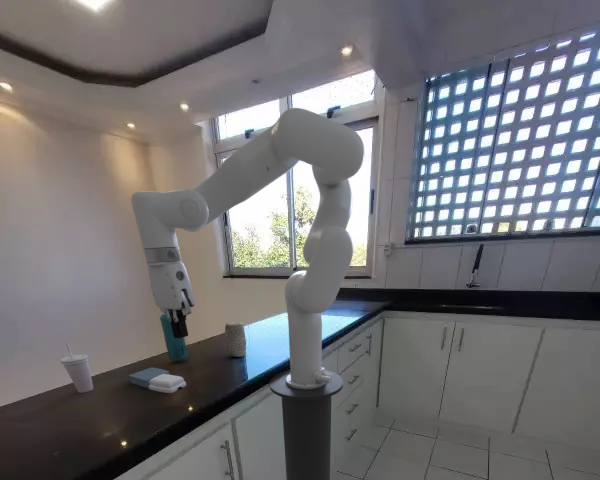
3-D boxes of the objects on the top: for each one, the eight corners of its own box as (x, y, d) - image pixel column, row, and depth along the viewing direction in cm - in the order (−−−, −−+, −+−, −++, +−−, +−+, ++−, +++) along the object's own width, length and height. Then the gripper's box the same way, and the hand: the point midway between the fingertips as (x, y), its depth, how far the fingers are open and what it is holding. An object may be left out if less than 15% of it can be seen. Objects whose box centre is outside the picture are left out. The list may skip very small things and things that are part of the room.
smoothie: (66, 394, 86) (47, 345, 80) (84, 385, 92) (67, 338, 86) (87, 395, 85) (69, 345, 79) (103, 385, 91) (88, 339, 85)
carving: (251, 354, 115) (247, 321, 109) (237, 360, 109) (233, 326, 104) (238, 352, 118) (234, 320, 112) (224, 357, 112) (219, 324, 107)
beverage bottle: (185, 364, 107) (173, 304, 98) (166, 364, 107) (152, 304, 98) (191, 358, 112) (180, 301, 104) (173, 358, 113) (160, 301, 104)
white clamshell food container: (147, 389, 88) (144, 379, 87) (165, 380, 94) (163, 371, 92) (171, 393, 85) (168, 384, 83) (188, 384, 90) (186, 375, 89)
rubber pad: (170, 378, 95) (168, 371, 94) (147, 388, 89) (145, 380, 88) (154, 374, 99) (152, 366, 97) (130, 383, 92) (128, 375, 91)
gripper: (198, 255, 69) (212, 336, 77) (158, 257, 77) (175, 330, 85) (168, 257, 63) (187, 344, 72) (129, 259, 71) (150, 337, 79)
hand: (181, 336), depth 78 cm, fingers closed
